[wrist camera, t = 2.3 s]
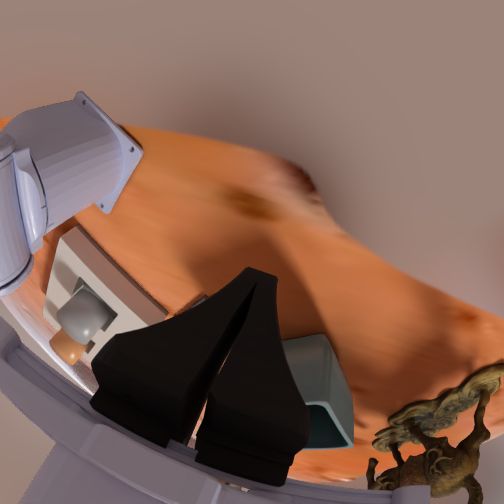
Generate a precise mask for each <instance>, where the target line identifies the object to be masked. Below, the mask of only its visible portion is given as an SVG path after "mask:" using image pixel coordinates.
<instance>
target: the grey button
mask: <svg viewBox="0 0 504 504" xmlns="http://www.w3.org/2000/svg"><path fill="white" fill-rule="evenodd" d="M56 316H57V320H58V322H59V324H60V325H61V327H62V328H63V329H64V331H65V332H66V333H67V334H68V335H69V336H70V337H71V338H72V339H74V340H75V341H76V342H78V343H80V344H82V345H86V344H87V343H88V342H89V341H90V340H91V339H92V337H93V336H94V335H95V334H96V333H97V332H98V330H99V329H100V328H101V327H102V326H103V325H104V323H105V322H106V321H107V320H108V314H107V311H106V309H105V307H104V306H103V304H102V303H101V301H100V300H99V299H98V298H97V297H96V296H95V295H94V294H92V293H91V292H89V291H87V290H85V289H80V290H79V291H78V292H77V293H76V294H75V295H73V296H72V297H71V298H70V299H69V300H68V301H67V302H66V303H65V304H64V305H63V306H62V307H61V308H60V309H59V310H58V311H57V313H56Z"/></svg>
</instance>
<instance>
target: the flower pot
mask: <svg viewBox="0 0 504 504" xmlns="http://www.w3.org/2000/svg"><path fill="white" fill-rule="evenodd" d="M282 344H283V348H284V352H285V355H286V359H287V362H288V365H289V367H290V370H291V373H292V375H293V378H294V381H295V383H296V385H297V387H298V390H299V392H300V394H301V396H302V398H303V400H304V402H305V404H306V406H307V407H308V409H309V411H310V438H309V443H308V444H307V446H306V447H305V448H303V449H302V450H323V449H342V448H350V447H353V446H354V414H353V400H352V394H351V390H350V387H349V384H348V381H347V379H346V376H345V374H344V372H343V370H342V368H341V365H340V363H339V361H338V359H337V357H336V355H335V353H334V350H333V348H332V346H331V344H330V342H329V340H328V338H327V337H326V336H325V335H324V334H316V335H311V336H306V337H301V338H296V339H290V340H284V341H282Z"/></svg>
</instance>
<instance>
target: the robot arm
mask: <svg viewBox="0 0 504 504" xmlns="http://www.w3.org/2000/svg"><path fill="white" fill-rule="evenodd" d="M85 101H86V103H85ZM132 147H134V151H133V150H132ZM142 156H143V150H142V148H141V147H140V146H139V145H138V144H137V143H136V142H135V141H134V140H133V139H132V138H130V137H129V136H128V135H127V134H126V133H125V132H124V131H123V130H122V129H121V128H120V127H119V126H118V125H117V124H116V123H115V122H114V121H113V120H112V119H111V118H110V117H109V116H108V115H107V114H106V113H105V112H103V111H102V110H101V109H100V108H99V107H98V106H97V105H96V104H95V103H94V102H93V101H92V100H91V99H90V98H89V97H88V96H87V95H86V94H85V93H84V92H82V91H80V92H78V93H77V94H76V96H75V98H74V100H70V101H65V102H61V103H56V104H52V105H47V106H43V107H39V108H36V109H32V110H28V111H25V112H23V113H21V114H19V115H18V116H16V117H15V118H13V119H12V120H11V121H10V122H9V123H8V124H7V125H6V126H5V127H4V128H3V130H2V131H0V298H2V297H5V296H7V295H9V294H11V293H12V292H14V291H15V290H16V289H17V288H19V287H20V286H21V285H22V284H23V283H24V282H25V280H26V279H27V278H28V276H29V275H30V273H31V271H32V269H33V265H34V255H33V254H34V253H35V252H36V251H38V250H39V249H40V248H42V247H43V236H44V235H45V234H47V233H48V232H50V231H51V230H52V229H54V228H55V227H57V226H58V225H60V224H61V223H63V222H65V221H66V220H68V219H69V218H71V217H72V216H74V215H75V214H77V213H79V212H80V211H82V210H83V209H85V208H87V207H88V206H90V205H92V204H93V203H95V204H96V205H97V206H98V207H99V208H100V209H101V210H102V211H103V212H104V213H105V214H108V213H110V212H111V210H112V208H113V206H114V204H115V202H116V201H117V199H118V197H119V195H120V193H121V191H122V190H123V188H124V186H125V184H126V183H127V181H128V179H129V177H130V176H131V174H132V172H133V171H134V169H135V167H136V166H137V164H138V162H139V161H140V159H141V158H142ZM277 282H278V278H277V277H276V276H274V275H271V274H268V273H265V272H262V271H259V270H256V269H254V268H251V267H247V268H245V269H244V270H243V271H242V272H241V273H240V274H239V275H238V276H237V277H236V278H235V279H233V280H232V281H231V282H230V283H229V284H227V285H226V286H225V287H223V288H222V289H221V290H219V291H218V292H217V293H215V294H214V295H212V296H211V297H209V298H208V299H206V300H205V301H203V302H201V303H200V304H198V305H196V306H194V307H193V308H191V309H189V310H187V311H185V312H183V313H181V314H179V315H176V316H174V317H172V318H170V319H167V320H165V321H162V322H159V323H156V324H153V325H150V326H147V327H144V328H141V329H137V330H132V331H128V332H123V333H118V334H115V335H114V336H113V337H112V338H111V339H110V340H109V341H108V342H107V343H106V344H105V345H104V346H103V347H102V348H101V349H100V351H99V352H98V353H97V354H96V356H95V357H94V358H93V359H92V362H91V367H92V371H93V373H94V375H95V378H96V380H97V382H98V384H99V386H100V387H99V388H98V390H97V391H96V393H95V394H94V395H93V396H91V395H90V394H88V393H87V392H85V391H84V390H82V389H81V388H79V387H78V386H76V385H75V384H73V383H72V382H71V381H69V380H68V379H66V378H65V377H64V376H62V375H61V374H59V373H58V372H57V371H56V370H54V369H53V368H52V367H51V366H49V365H48V364H47V363H46V362H44V361H43V360H42V359H41V358H39V357H38V356H37V355H36V354H35V353H33V352H32V351H31V350H30V349H29V348H28V347H26V346H25V345H24V344H23V343H22V342H21V339H20V337H19V335H18V334H17V332H16V331H15V330H14V328H12V326H11V325H10V324H8V323H7V322H6V321H5V320H4V319H3V318H2V317H1V316H0V391H1V392H2V393H3V394H4V395H5V396H6V397H7V398H8V399H9V400H10V401H11V402H12V403H13V404H14V405H15V406H16V407H17V408H18V409H19V410H20V411H21V412H22V413H23V414H24V415H25V416H26V417H27V418H28V419H29V420H31V421H32V422H33V423H34V424H35V425H36V426H37V427H38V428H40V429H41V430H42V431H43V432H44V433H45V434H47V435H48V436H49V437H50V438H52V439H53V440H54V441H55V442H57V443H56V444H55V446H54V447H53V449H52V450H51V452H50V453H49V455H48V456H47V458H46V460H45V461H44V463H43V464H42V466H41V467H40V469H39V470H38V472H37V474H36V475H35V477H34V478H33V480H32V482H31V483H30V485H29V487H28V488H27V490H26V492H25V493H24V495H23V497H22V498H21V500H20V502H19V503H18V504H429V503H430V489H431V486H430V485H411V486H403V487H400V488H397V489H395V490H394V491H383V490H365V489H353V488H344V487H335V486H329V485H322V484H316V483H310V482H304V481H299V480H294V479H290V478H287V474H288V470H289V467H290V466H291V465H292V464H293V460H294V456H295V454H297V453H298V452H299V451H301V450H302V449H303V448H305V447H306V446H307V444H308V443H309V438H310V411H309V409H308V407H307V406H306V404H305V402H304V400H303V398H302V396H301V394H300V392H299V390H298V387H297V385H296V383H295V381H294V378H293V375H292V373H291V370H290V367H289V365H288V362H287V359H286V355H285V352H284V348H283V344H282V340H281V335H280V330H279V324H278V316H277V304H276V289H277ZM230 350H231V351H230ZM229 352H230V353H229ZM228 354H229V355H228ZM227 356H228V357H227ZM226 357H227V359H226ZM225 359H226V361H225ZM224 361H225V362H224ZM223 363H224V364H223ZM222 365H223V366H222ZM221 367H222V368H221ZM220 369H221V370H220ZM219 371H220V372H219ZM218 373H219V374H218ZM207 398H208V399H207ZM206 400H207V404H206V408H205V413H204V418H203V420H202V423H201V425H200V427H199V429H198V431H197V434H196V436H197V437H196V443H195V449H193V448H190V447H188V446H187V445H188V443H189V440H190V438H191V436H192V433H193V431H194V429H195V426H196V424H197V421H198V419H199V417H200V414H201V412H202V410H203V407H204V405H205V403H206ZM217 479H218V480H221V481H224V482H227V483H231V484H234V485H237V486H240V487H244V488H247V489H250V490H248V492H245V491H242V490H239V489H237V488H234V487H231V486H228V485H226V484H223V483H221V482H219V481H218V480H217Z"/></svg>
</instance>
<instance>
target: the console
mask: <svg viewBox="0 0 504 504" xmlns="http://www.w3.org/2000/svg"><path fill="white" fill-rule="evenodd" d="M80 289H85V290H87V291H89V292H91V293H92V294H94V295H95V296H96V297H97V298H98V299H99V300H100V301H101V303H102V304H103V306H104V307H105V309H106V311H107V314H108V320H107V321H106V322H105V323H104V325H103V326H102V327H101V328H100V329H99V330H98V332H97V333H96V334H95V335H94V336H93V337H92V339H91V340H90V341H89V342H88V343H89V347H88V348H87V349H86V350H85V352H84V353H83V354H82V356H83V357H85V358H86V359H87V360H88V361H89V362H90V363H91V362H92V359H93V358H94V357H95V356H96V354H97V353H98V352H99V351H100V349H101V348H102V347H103V346H104V345H105V344H106V343H107V342H108V341H109V340H110V339H111V338H112V337H113V336H114V335H115V334H118V333H123V332H128V331H132V330H137V329H141V328H144V327H147V326H150V325H153V324H156V323H159V322H162V321H163V320H164V319H165V318H166V316H167V315H168V314H169V313H168V312H167V311H166V310H165V309H164V308H163V307H162V306H160V305H159V304H158V303H157V302H156V301H155V300H154V299H153V298H152V297H150V296H149V295H148V294H147V293H146V292H145V291H144V290H143V289H142V288H141V287H140V286H139V285H138V284H137V283H136V282H134V281H133V280H132V279H131V278H130V277H129V276H128V275H127V274H126V273H125V272H124V271H123V270H122V269H121V268H120V267H119V266H118V265H117V264H116V263H115V262H114V261H113V260H112V259H111V258H110V257H109V256H108V255H107V254H106V253H105V252H104V251H103V250H102V249H101V248H100V247H99V245H98V244H97V243H96V242H95V241H94V240H93V239H92V238H91V237H90V236H89V235H88V234H87V233H86V232H85V230H84V229H83V228H82V227H81V226H80V225H79V224H78V225H77V226H75V227H74V228H72V229H71V230H69V231H68V232H67V233H65V234H64V235H62V236H61V237H60V239H59V243H58V246H57V250H56V254H55V258H54V262H53V266H52V270H51V274H50V279H49V283H48V288H47V293H46V298H45V304H44V310H43V316H44V317H45V318H46V320H47V321H48V322H49V323H50V324H51V325H52V326H53V327H54V328H55V329H56V330H57V331H59V330H60V329H61V328H62V327H61V325H60V324H59V322H58V320H57V316H56V313H57V311H58V310H59V309H60V308H61V307H62V306H63V305H64V304H65V303H66V302H67V301H68V300H69V299H70V298H71V297H72V296H73V295H75V294H76V293H77V292H78V291H79V290H80Z"/></svg>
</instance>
